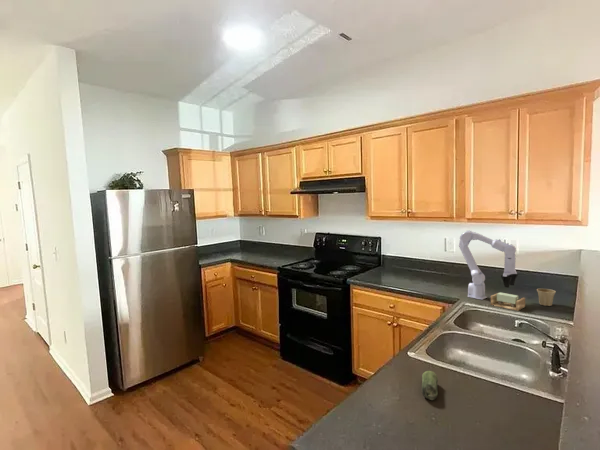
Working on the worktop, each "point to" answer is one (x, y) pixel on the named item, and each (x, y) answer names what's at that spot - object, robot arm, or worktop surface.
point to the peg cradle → (517, 306)
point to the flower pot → (546, 296)
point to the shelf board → (507, 298)
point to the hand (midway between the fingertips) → (509, 286)
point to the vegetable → (429, 385)
